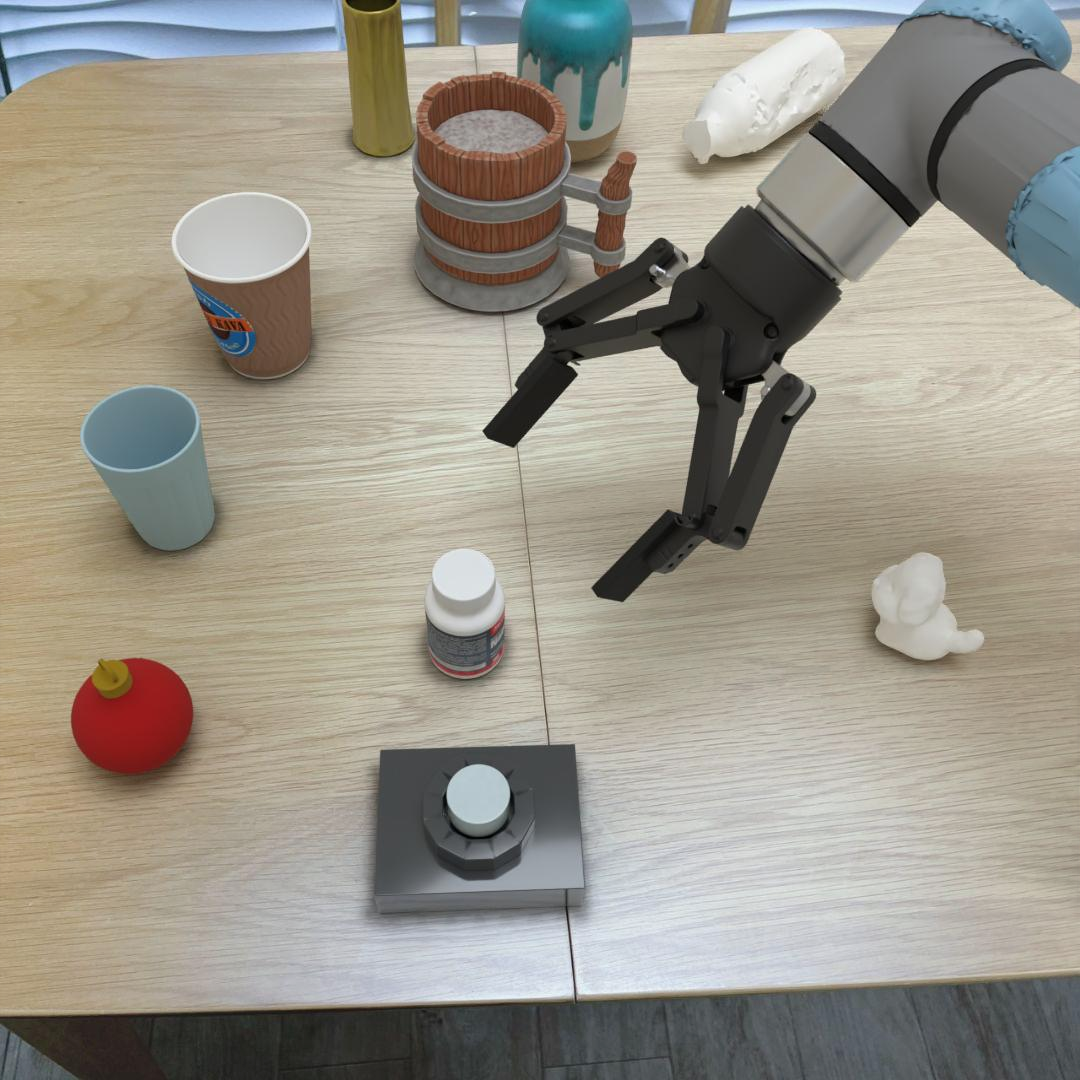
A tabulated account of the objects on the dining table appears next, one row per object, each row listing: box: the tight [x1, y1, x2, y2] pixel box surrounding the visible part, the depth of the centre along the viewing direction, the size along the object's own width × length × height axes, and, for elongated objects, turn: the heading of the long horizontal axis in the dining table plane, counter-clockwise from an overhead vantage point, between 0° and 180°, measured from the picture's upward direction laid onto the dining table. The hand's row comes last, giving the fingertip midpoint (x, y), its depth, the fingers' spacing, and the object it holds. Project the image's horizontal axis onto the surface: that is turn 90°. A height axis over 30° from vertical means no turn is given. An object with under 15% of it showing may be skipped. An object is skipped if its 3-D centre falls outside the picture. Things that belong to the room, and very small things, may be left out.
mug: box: [411, 70, 638, 313], centre depth 92 cm, size 14×19×15 cm
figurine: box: [871, 551, 985, 661], centre depth 74 cm, size 5×8×8 cm
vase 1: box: [341, 0, 415, 157], centre depth 103 cm, size 6×6×14 cm
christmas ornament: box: [70, 657, 194, 775], centre depth 66 cm, size 7×7×10 cm
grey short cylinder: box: [447, 764, 510, 837], centre depth 63 cm, size 4×4×2 cm
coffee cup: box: [171, 191, 313, 380], centre depth 86 cm, size 10×10×12 cm
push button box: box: [373, 743, 586, 914], centre depth 65 cm, size 12×9×5 cm
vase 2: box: [516, 0, 634, 163], centre depth 101 cm, size 11×11×19 cm
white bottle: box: [681, 26, 848, 165], centre depth 108 cm, size 8×19×8 cm, turn 135°
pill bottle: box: [424, 548, 506, 680], centre depth 72 cm, size 5×5×9 cm
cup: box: [79, 384, 216, 552], centre depth 76 cm, size 8×8×10 cm
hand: (549, 514), depth 67 cm, fingers open, 13 cm apart
